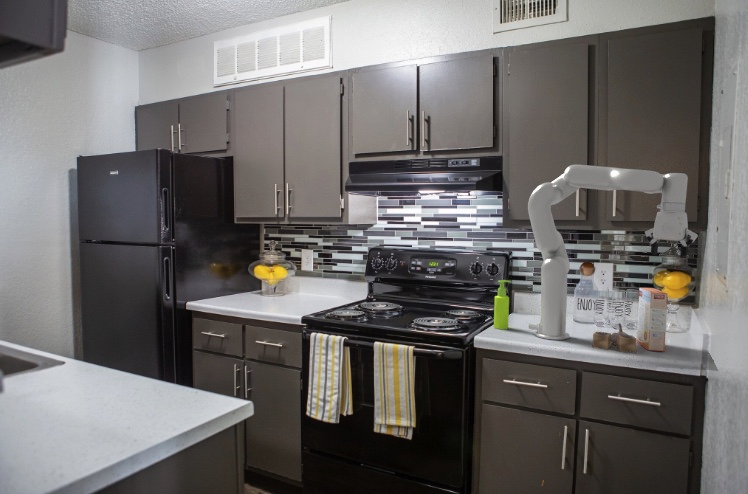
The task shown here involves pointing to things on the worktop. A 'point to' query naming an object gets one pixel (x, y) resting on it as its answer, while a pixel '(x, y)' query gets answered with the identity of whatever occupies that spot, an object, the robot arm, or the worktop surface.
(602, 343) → the marked cube
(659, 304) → the cracker box
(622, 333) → the garlic bulb
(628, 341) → the marked cube
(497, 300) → the soap dispenser
